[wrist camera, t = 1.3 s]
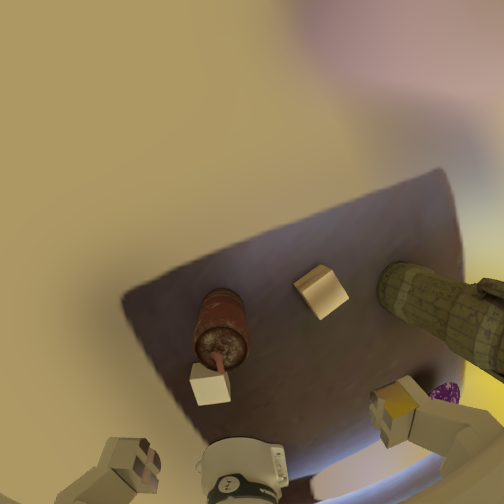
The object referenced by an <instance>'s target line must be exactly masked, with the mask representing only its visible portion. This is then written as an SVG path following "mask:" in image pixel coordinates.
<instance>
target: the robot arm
mask: <svg viewBox="0 0 504 504" xmlns="http://www.w3.org/2000/svg"><path fill="white" fill-rule="evenodd" d="M370 400H371V401H372V404H371V405H370V407H369V413H370V418H371V421H372V423H373V425H374V427H375V429H378V430H380V431H381V434H380V437H381V439H382V441H383V442H384V444H385V446H386V448H387V449H388V448H390V447H393V446H395V445H397V444H399V443H402V442H404V441H406V440H408V441H410V442H412V443H414V444H416V445H419V446H421V447H423V448H425V449H427V450H430V451H432V452H434V453H436V454H439V455H441V456H443V457H446V458H445V460H444V462H443V463H442V465H441V467H440V469H439V473H440V474H441V476H442V477H443V479H441V480H440V481H438V482H437V483H435V484H433V485H431V486H430V487H428V488H426V489H424V490H423V491H421V492H419V493H417V494H415V495H413V496H411V497H409V498H407V499H405V500H403V501H401V502H399V503H397V504H504V427H503V426H502V425H501V424H500V423H499V422H498V421H497V420H496V419H495V418H494V417H493V416H492V415H491V414H490V413H489V412H488V411H486V410H481V409H476V408H472V407H467V406H463V405H459V404H455V403H451V402H447V401H443V400H439V399H433V400H431V399H430V397H429V396H428V395H427V394H426V393H425V392H424V391H423V390H422V389H421V387H420V386H419V385H418V384H417V383H416V382H415V381H414V380H413V379H412V378H411V376H408V375H407V376H405V377H403V378H401V379H399V380H396V381H394V382H392V383H389V384H387V385H385V386H382V387H380V388H378V389H375V390H373V391H371V393H370ZM149 446H150V443H149V442H148V441H147V439H145V438H117V437H114V438H113V437H110V438H109V439H107V442H106V444H105V447H104V449H103V452H102V455H101V457H100V460H99V463H98V465H97V467H93V468H92V469H91V470H89V471H88V472H86V473H85V474H84V475H83V476H81V477H80V478H79V479H77V480H76V481H75V482H73V483H72V484H71V485H69V486H68V487H67V488H66V489H64V490H63V491H61V492H60V493H59V494H58V495H57V497H56V501H55V503H54V504H129V503H130V502H131V501H132V499H133V498H134V497H135V496H136V495H137V493H152V494H156V493H157V487H158V479H157V477H156V475H157V474H158V473H159V472H160V469H161V462H160V458H159V456H158V454H157V453H156V451H155V450H153V449H151V448H150V447H149ZM196 470H197V471H198V472H199V473H201V482H202V492H203V494H205V495H206V496H207V504H278V500H279V499H280V498H281V497H282V492H281V487H285V486H288V483H289V479H288V472H287V465H286V459H285V452H284V447H283V446H282V445H280V444H268V443H265V442H262V441H259V440H256V439H252V438H243V437H238V438H228V439H224V440H220V441H217V442H215V443H213V444H212V445H210V446H209V447H208V448H207V449H206V450H205V451H204V453H203V457H202V460H201V461H200V462H198V463H197V464H196ZM0 504H20V503H18V502H16V501H14V500H12V499H10V498H8V497H6V496H5V495H3V494H1V493H0Z"/></svg>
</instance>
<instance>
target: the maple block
mask: <svg viewBox="0 0 504 504" xmlns="http://www.w3.org/2000/svg"><path fill="white" fill-rule="evenodd" d="M293 284H294V286H295V287H296V288H297V290H298V291H299V293H300V294H301V296H302V297H303V299H304V300H305V302H306V303H307V305H308V306H309V308H310V309H311V310H312V311H313V312H314V313H315V315H316V316H317V317H318V318H319V319H320V320H321V319H322V318H324V317H325V316H326V315H328V314H329V313H330V312H332V311H333V310H334V309H336V308H337V307H338V306H340V305H341V304H342V303H344V302H345V301H346V300H348V299H349V297H348V296H347V294H346V292H345V291H344V289H343V287H342V286H341V284H340V282H339V281H338V279H337V277H336V276H335V274H334V273H333V271H332V270H331V269H329V268H327V267H325V266H323V265H321V264H320V265H318V266H317V267H315V268H314V269H313V270H311V271H310V272H309V273H307V274H306V275H305V276H303V277H302V278H300V279H299V280H298V281H296V282H295V283H293Z"/></svg>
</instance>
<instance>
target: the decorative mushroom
mask: <svg viewBox="0 0 504 504" xmlns="http://www.w3.org/2000/svg"><path fill="white" fill-rule="evenodd" d="M428 396H429V397H430V399H431V400H433V399H439V400H443V401H447V402H451V403H455V404H459V398H460V390H459V387H458V385H457V384H455V383H452V382H450V383H445V384H443V385H441V386H439V387H437V388H436V389H434V390H433V391H432V392H431V393H429V394H428Z"/></svg>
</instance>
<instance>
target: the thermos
mask: <svg viewBox="0 0 504 504" xmlns="http://www.w3.org/2000/svg"><path fill="white" fill-rule="evenodd" d="M377 297H378V300H379V303H380V304H381V305H382V306H383V308H385V309H387V310H389V312H390V313H391V314H393V315H395V316H396V317H398V318H399V319H401V320H403V321H404V322H407V323H409V324H416V325H418V326H420V327H421V328H423V329H425V330H426V331H428V332H430V333H431V334H433V335H435V336H436V337H438V338H440V339H441V340H443V341H445V342H446V343H447V345H448V346H449V348H450V350H452V351H453V352H455V353H457V354H458V355H460V356H461V357H463V358H464V359H466V360H467V361H469V362H471V363H472V364H474V365H475V366H477V367H479V368H480V369H482V370H484V371H485V372H487V373H488V374H490V375H491V376H493V377H494V378H496V379H497V380H499V381H501V382H503V383H504V282H502V281H498V280H494V279H489V278H483V279H482V280H481V281H480V282H478V283H474V284H471V285H470V284H467V283H464V282H460V281H457V280H454V279H451V278H448V277H445V276H441V275H438V274H436V273H435V272H434V271H433V270H431V269H430V268H427V267H424V266H420V265H417V264H412V263H406V262H400V261H399V262H395V263H392V264H391V265H389V266H388V267H387V268H386V269H385V270H384V271H383V272H382V274H381V276H380V278H379V280H378V285H377Z"/></svg>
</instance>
